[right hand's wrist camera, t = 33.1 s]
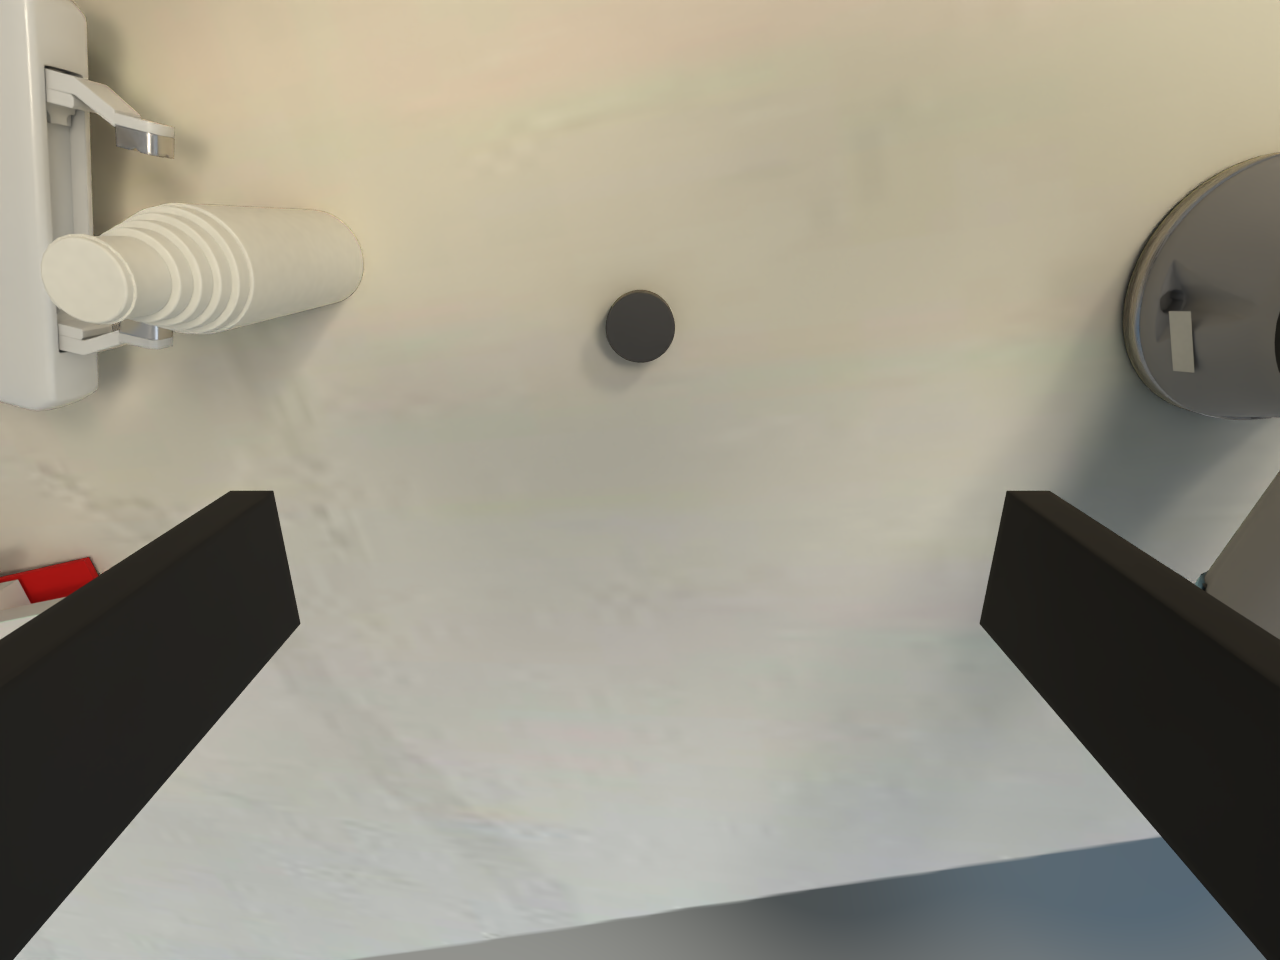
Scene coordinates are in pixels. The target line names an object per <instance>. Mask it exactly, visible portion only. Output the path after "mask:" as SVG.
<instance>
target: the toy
mask: <svg viewBox="0 0 1280 960" xmlns="http://www.w3.org/2000/svg"><path fill="white" fill-rule="evenodd" d="M0 572H1V571H0ZM96 577H98V574H97V572H96V570H95V568H94V566H93V564H92V562H91V560H90V559H89V557H87V558H83V559H78V560H74V561H69V562H65V563H61V564H56V565H52V566H47V567H43V568H38V569H34V570H30V571H25V572H21V573H16V574H12V575H8V576H3V577H0V639H2V638H3V637H5V636H6V635H8V634H10V633H11V632H13V631H14V630H16V629H17V628H19V627H20V626H22V625H24V624H25V623H27V622H28V621H30V620H31V619H33V618H34V617H36V616H37V615H39V614H41V613H42V612H44V611H45V610H47V609H48V608H50V607H51V606H53V605H54V604H56V603H58V602H59V601H61V600H62V599H64V598H65V597H67V596H68V595H70V594H72V593H73V592H75V591H76V590H78V589H79V588H81V587H82V586H84V585H85V584H87V583H89V582H90V581H92V580H93V579H95V578H96Z"/></svg>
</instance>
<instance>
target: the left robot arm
mask: <svg viewBox="0 0 1280 960" xmlns="http://www.w3.org/2000/svg"><path fill="white" fill-rule="evenodd" d="M90 112H92V113H97V114H99V115H100V116H101V117H102V118H103V119H105V120H106V121H107V122H108V123H110V124H111V125H112V126H113V127H115V131H116V146H118V147H121V148H125V149H129V150H134V151H139V152H141V153H145V154H149V155H153V156H158V157H166V158H171V159H174V127H172V126H168V125H164V124H160V123H157V122H153V121H149V120H145V119H141V115H140V114H138V113H137V112H136V111H135V110H134V109H133V108H132V107H131V106H130V105H128V104H127V103H126V102H125V101H124V100H123V99H122V98H121V97H120V96H118V95H117V94H116V93H115V92H114V91H113V90H112V89H111V88H109V87H108V86H107V85H105V84H101V83H97V82H94V81H90V80H88V48H87V21H86V18H85V16H84V14H83V13H82V12H81V10H80V9H79V8H78V7H77V6H76V5H75V4H74V2H73V1H72V0H0V402H3V403H6V404H9V405H13V406H17V407H20V408H24V409H28V410H34V411H44V410H51V409H56V408H59V407H63V406H67V405H69V404H72V403H75V402H77V401H79V400H81V399H83V398H85V397H87V396H89V395H90V394H92V393H93V392H95V391H96V390H97V388H98V359H97V352H102V351H106V350H110V349H114V348H118V347H121V346H124V345H127V344H129V345H134V346H138V347H143V348H147V349H163V348H167V347H171V346H173V331H172V330H169V329H164V328H161V327H157V326H153V325H149V324H146V323H143V322H138V321H134V320H130V319H125V320H123V321H121V322H120V330H117V331H114V332H112V325H111V324H103V325H100V324H97V323H88V322H84V321H81V320H78V319H76V318H74V317H72V316H70V315H69V314H67V313H66V312H64V311H63V310H62V309H59V308H58V307H57V306H56V305H55V304H54V303H53V302H52V301H51V300H50V299H51V298H50V297H49V295H48V293H47V292H46V290H45V288H44V284H43V281H42V278H41V265H40V264H41V262H42V257H43V253H44V252H45V251H46V249H47V247H48V245H49V244H51V243H52V242H53V241H55V240H56V239H57V238H59V237H62V236H65V235H68V234H86V235H90V236H94V235H93V205H92V174H91V143H90Z"/></svg>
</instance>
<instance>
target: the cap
mask: <svg viewBox="0 0 1280 960" xmlns="http://www.w3.org/2000/svg"><path fill="white" fill-rule="evenodd" d="M674 332H675V323H674V318H673V315H672V312H671V310H670V308H669V306H668V304H667V303H666V302H665V301H664V300H663V299H662V298H661V297H660V296H659V295H657V294H655V293H653V292H650V291H646V290H635V291H631V292H628V293H626V294H624V295H622V296H621V297H620V298H618V299H617V300H616V301H615V303H614V304H613V305H612V307H611V309H610V312H609V314H608V317H607V321H606V334H607V338H608V341H609V343H610V345H611V347H612V348H613V349H614V351H615V352H616V353H617V354H618V355H620V356H621V357H623V358H624V359H626V360H629V361H632V362H648V361H652V360H654V359H656V358H658V357H660V356H661V355H662V354H663V353H664V352H665V351H666V350H667V349H668V348H669V346H670V344H671V343H672V340H673V337H674Z"/></svg>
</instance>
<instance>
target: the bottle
mask: <svg viewBox="0 0 1280 960" xmlns="http://www.w3.org/2000/svg"><path fill="white" fill-rule="evenodd" d="M40 265H41V278H42V281H43V284H44V288H45V290H46V292H47V293H48V295H49V297H50V298H51V299H50V300H51V301H52V302H53V303H54V304H55V305H56V306H57V307H58V308H59V309H62V310H63V311H64V312H66V313H67V314H69V315H70V316H72V317H74V318H76V319H78V320H81V321H84V322H88V323H97V324H100V325H103V324H115V323H118V322H121V321H123V320H125V319H130V320H134V321H138V322H143V323H146V324H149V325H153V326H157V327H161V328H164V329H169V330H172V331H175V332H179V333H185V334H214V333H218V332H222V331H226V330H230V329H234V328H238V327H242V326H246V325H250V324H254V323H258V322H262V321H266V320H270V319H274V318H278V317H282V316H286V315H290V314H294V313H298V312H302V311H306V310H310V309H314V308H318V307H322V306H326V305H330V304H334V303H337V302H340V301H343V300H344V299H346V298H348V297H349V296H350V295H351V294H352V293H353V292H354V291H355V290H356V288H357V287H358V285H359V283H360V281H361V278H362V275H363V267H364V262H363V255H362V250H361V247H360V245H359V243H358V240H357V239H356V237H355V235H354V234H353V232H352V231H351V230H350V229H349V227H348V226H347V225H346V224H345V223H343V222H342V221H341V220H340V219H338V218H336V217H335V216H333V215H331V214H329V213H326V212H323V211H319V210H308V209H288V208H268V207H249V206H229V205H209V204H189V203H166V204H162V205H158V206H153V207H149V208H146V209H143V210H141V211H139V212H137V213H135V214H134V215H132V216H131V217H129V218H127V219H126V220H124V221H123V222H122V223H120V224H117V225H116V226H114V227H113V228H111V229H110V230H108V231H106V232H104V233H102V234H101V235H100V236H90V235H86V234H68V235H65V236H62V237H59V238H57V239H56V240H55V241H53V242H52V243H51V244H49V245H48V247H47V249H46V251H45V252H44V253H43V257H42V262H41V264H40Z"/></svg>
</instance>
